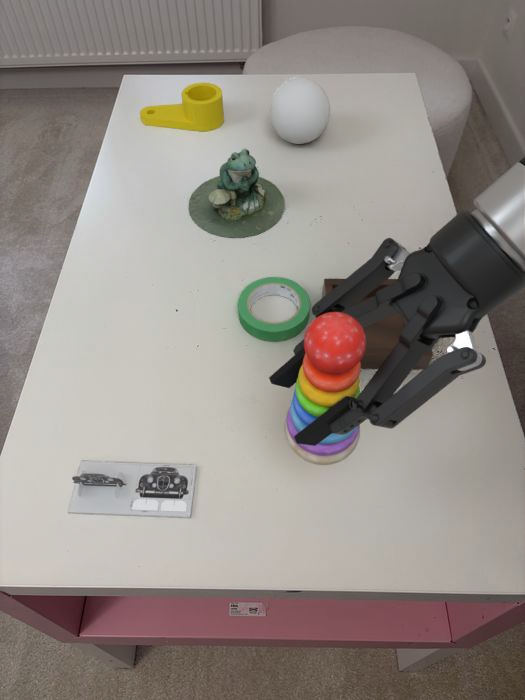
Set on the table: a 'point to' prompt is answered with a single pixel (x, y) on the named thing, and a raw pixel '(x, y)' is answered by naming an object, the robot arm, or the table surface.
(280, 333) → the tape roll
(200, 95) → the crank
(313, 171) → the table surface
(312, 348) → the stacking toy
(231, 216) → the frog figurine
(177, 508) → the car cutout
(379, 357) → the square tray
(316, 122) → the decorative ball
